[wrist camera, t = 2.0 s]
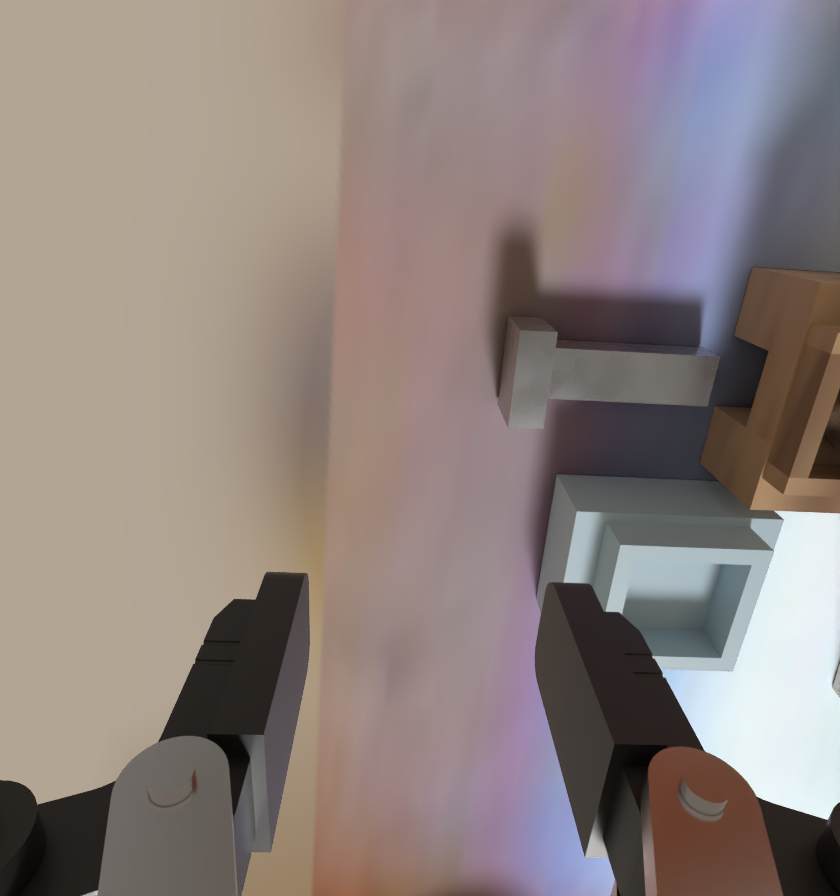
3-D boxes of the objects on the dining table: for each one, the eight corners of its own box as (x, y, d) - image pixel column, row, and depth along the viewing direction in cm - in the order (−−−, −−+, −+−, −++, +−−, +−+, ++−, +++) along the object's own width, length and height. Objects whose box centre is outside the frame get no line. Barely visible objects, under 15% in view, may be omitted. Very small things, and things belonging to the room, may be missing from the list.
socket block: (897, 276, 28) (1034, 299, 22) (827, 468, 32) (926, 534, 26) (752, 267, 28) (850, 288, 22) (699, 463, 32) (769, 527, 25)
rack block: (740, 482, 32) (810, 542, 27) (703, 603, 35) (759, 679, 30) (556, 474, 32) (588, 533, 26) (536, 597, 35) (561, 674, 29)
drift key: (707, 326, 28) (742, 342, 25) (685, 413, 30) (716, 437, 27) (508, 315, 28) (520, 330, 25) (497, 404, 30) (508, 427, 27)
